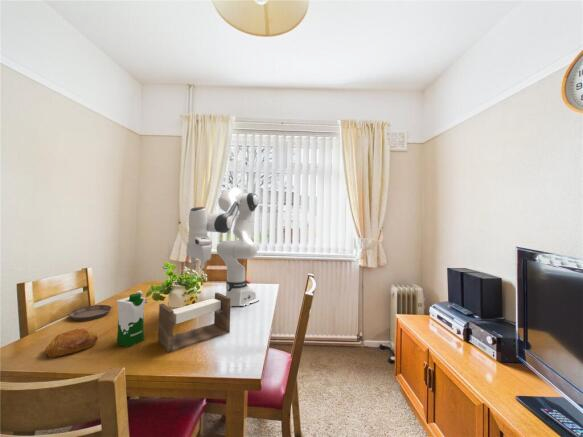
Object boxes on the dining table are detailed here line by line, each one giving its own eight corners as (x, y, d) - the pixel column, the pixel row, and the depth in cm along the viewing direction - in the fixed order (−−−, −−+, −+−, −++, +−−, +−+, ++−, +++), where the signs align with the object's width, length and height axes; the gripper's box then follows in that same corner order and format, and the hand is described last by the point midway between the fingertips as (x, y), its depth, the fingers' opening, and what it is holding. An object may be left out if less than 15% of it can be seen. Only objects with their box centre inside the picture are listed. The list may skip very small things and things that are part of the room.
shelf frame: (216, 324, 126) (217, 292, 126) (229, 332, 118) (230, 298, 118) (158, 342, 107) (159, 304, 107) (168, 353, 99) (169, 311, 99)
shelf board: (212, 306, 123) (212, 298, 123) (220, 309, 120) (220, 300, 120) (168, 320, 105) (168, 310, 105) (176, 324, 102) (176, 314, 102)
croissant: (97, 354, 101) (101, 333, 102) (43, 363, 90) (48, 340, 91) (93, 340, 112) (97, 321, 112) (44, 346, 101) (48, 325, 102)
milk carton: (127, 348, 101) (129, 298, 101) (112, 344, 104) (113, 295, 105) (147, 339, 109) (148, 293, 109) (132, 335, 113) (133, 290, 113)
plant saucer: (119, 312, 140) (119, 307, 140) (84, 325, 123) (84, 318, 123) (96, 308, 145) (96, 303, 145) (60, 319, 128) (60, 313, 128)
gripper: (183, 238, 132) (183, 264, 133) (201, 242, 118) (201, 271, 118) (194, 237, 137) (194, 262, 137) (213, 240, 122) (213, 269, 123)
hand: (197, 266), depth 128 cm, fingers open, 8 cm apart
